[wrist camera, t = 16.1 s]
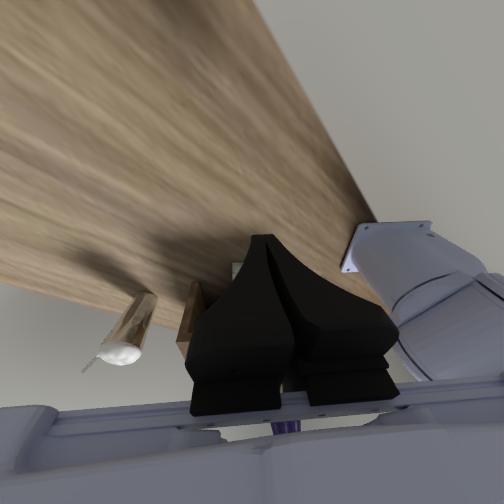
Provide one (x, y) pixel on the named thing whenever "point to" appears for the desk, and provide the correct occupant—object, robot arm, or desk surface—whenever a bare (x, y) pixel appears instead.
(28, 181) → the desk surface
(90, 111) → the desk surface
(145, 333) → the milkshake
